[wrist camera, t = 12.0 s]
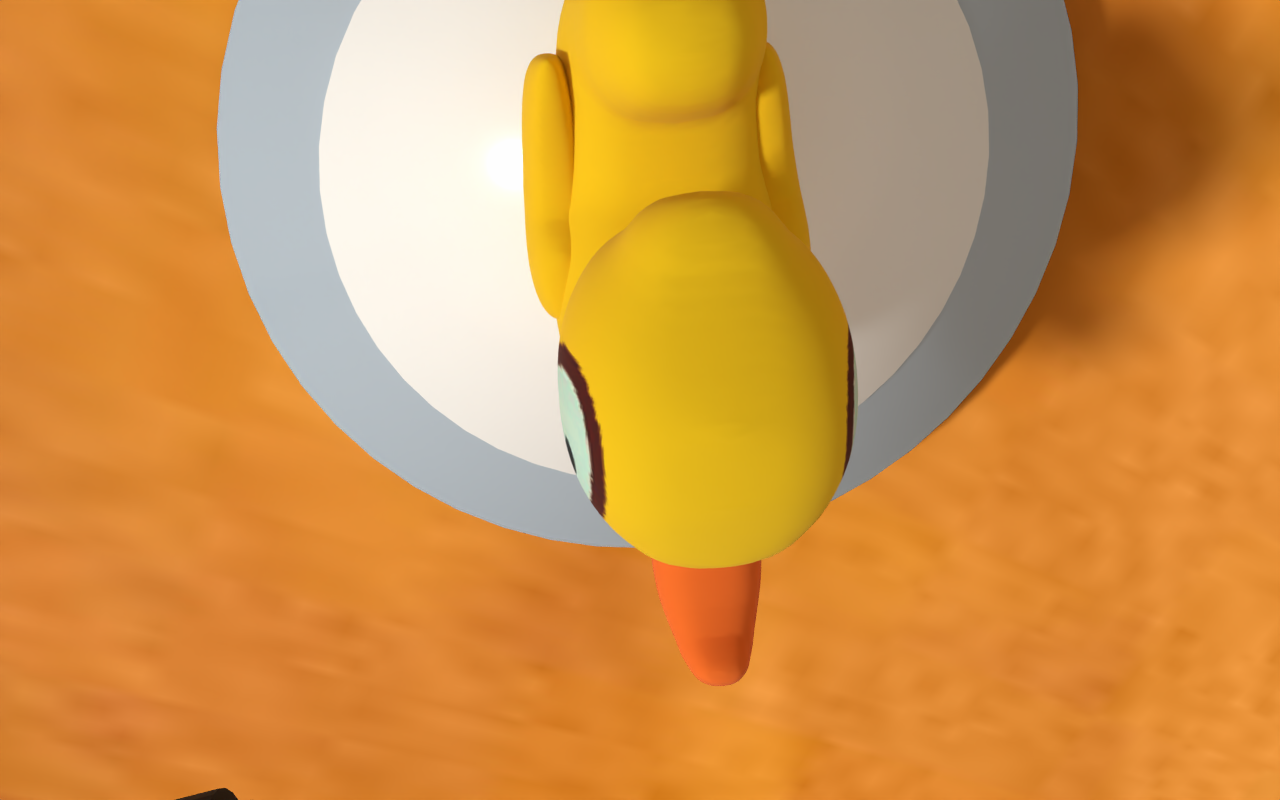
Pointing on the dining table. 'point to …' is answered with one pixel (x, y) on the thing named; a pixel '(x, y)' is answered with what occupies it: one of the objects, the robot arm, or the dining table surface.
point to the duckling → (686, 301)
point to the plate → (496, 237)
